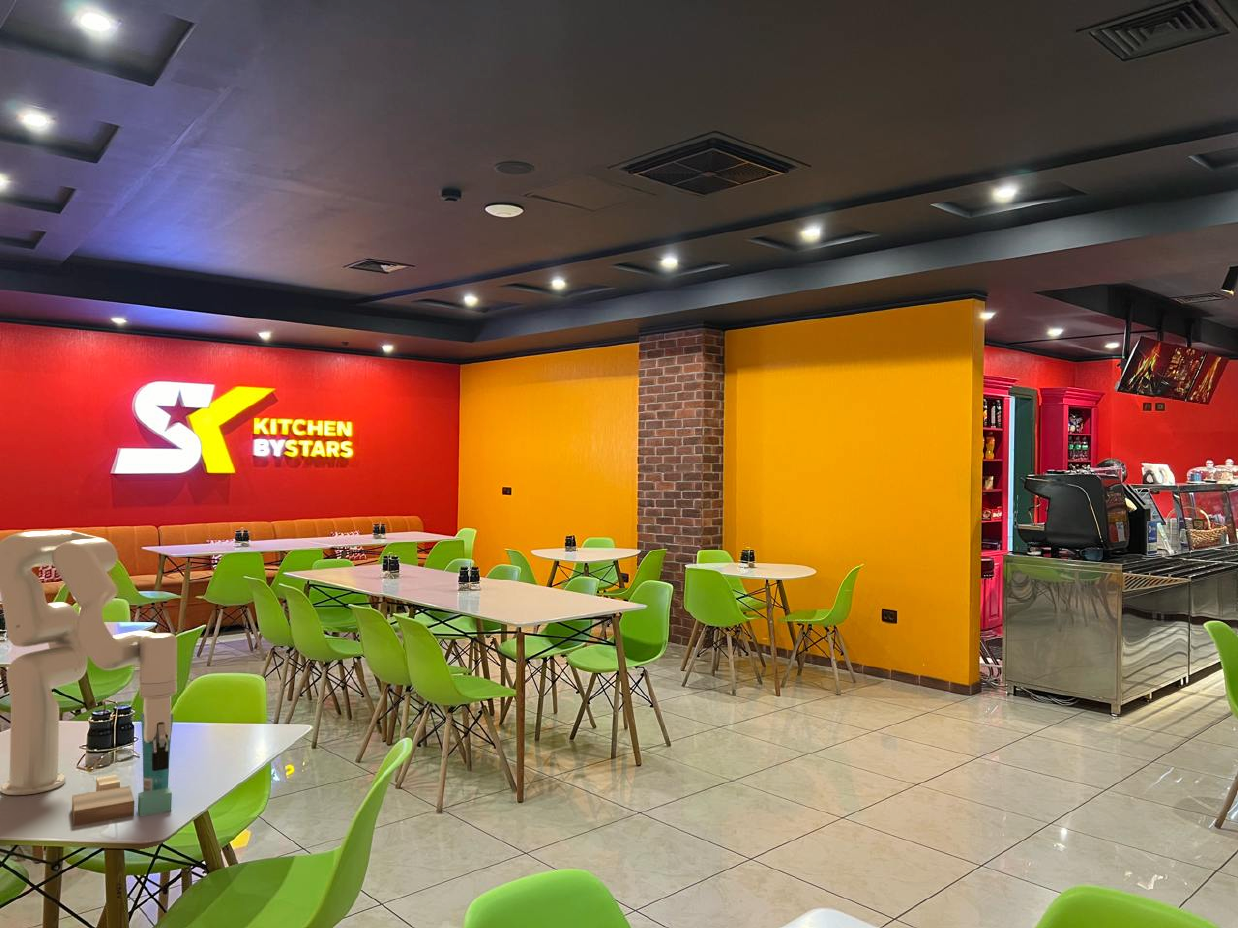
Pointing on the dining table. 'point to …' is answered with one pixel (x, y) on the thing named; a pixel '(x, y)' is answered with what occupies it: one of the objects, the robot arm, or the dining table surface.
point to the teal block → (154, 801)
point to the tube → (150, 777)
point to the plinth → (102, 805)
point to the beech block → (107, 783)
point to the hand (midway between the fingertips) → (157, 763)
